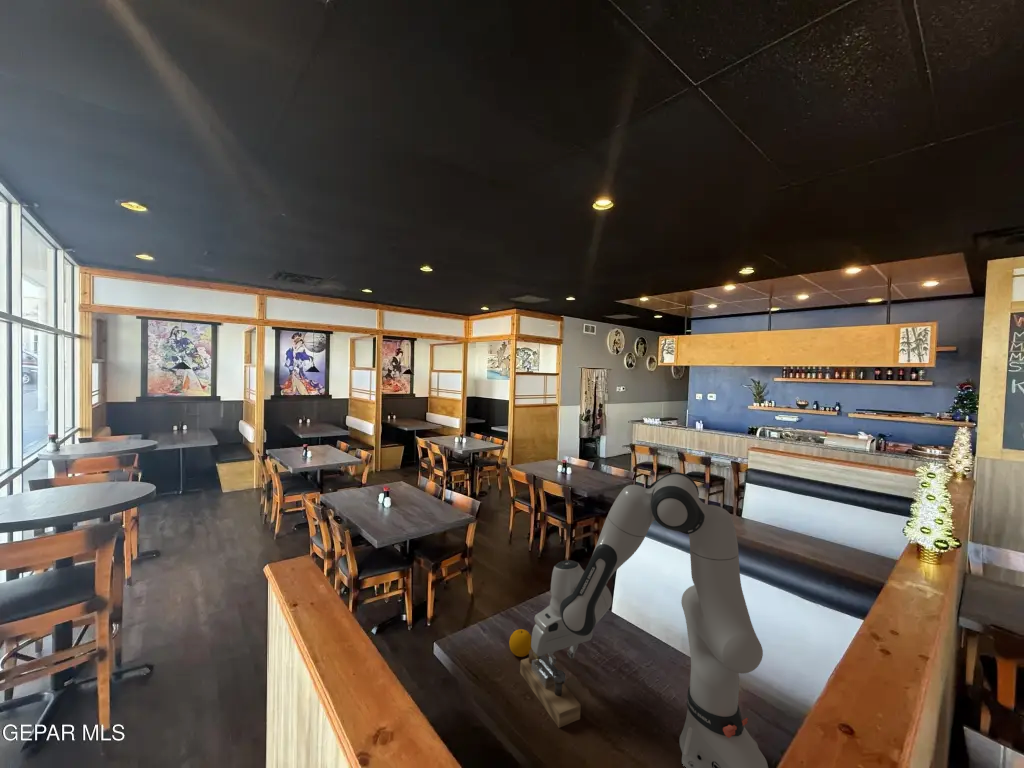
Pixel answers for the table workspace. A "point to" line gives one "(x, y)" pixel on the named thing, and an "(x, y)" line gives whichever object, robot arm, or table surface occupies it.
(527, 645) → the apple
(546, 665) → the lever
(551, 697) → the plane body
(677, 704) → the table surface
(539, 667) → the lever cap
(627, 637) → the table surface
